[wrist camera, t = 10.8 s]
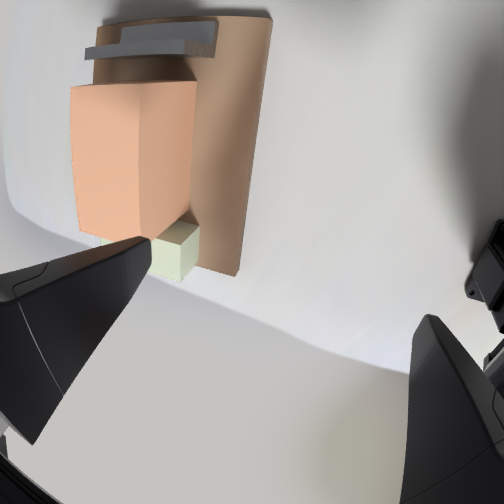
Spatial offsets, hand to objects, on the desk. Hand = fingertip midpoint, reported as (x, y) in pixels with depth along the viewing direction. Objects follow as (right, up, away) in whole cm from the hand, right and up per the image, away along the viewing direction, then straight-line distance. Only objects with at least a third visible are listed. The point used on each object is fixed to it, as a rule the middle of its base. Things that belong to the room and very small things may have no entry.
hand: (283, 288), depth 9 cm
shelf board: (-7, +9, +12) cm, 16 cm away
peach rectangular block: (-7, +8, +11) cm, 15 cm away
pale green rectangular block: (-8, +3, +15) cm, 18 cm away
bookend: (-6, +15, +7) cm, 17 cm away
